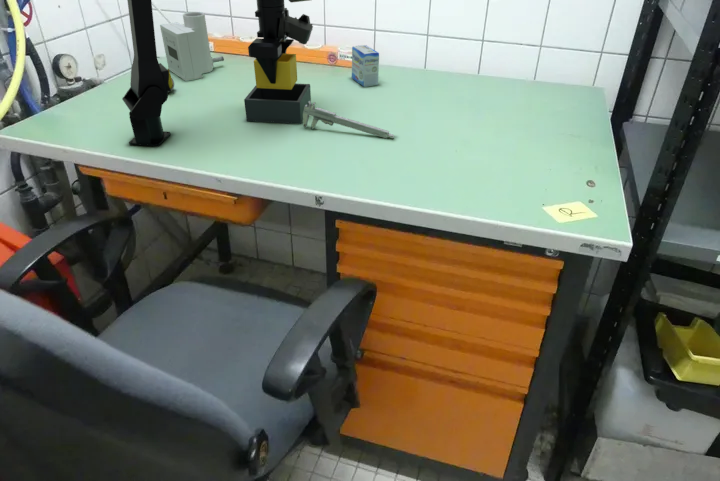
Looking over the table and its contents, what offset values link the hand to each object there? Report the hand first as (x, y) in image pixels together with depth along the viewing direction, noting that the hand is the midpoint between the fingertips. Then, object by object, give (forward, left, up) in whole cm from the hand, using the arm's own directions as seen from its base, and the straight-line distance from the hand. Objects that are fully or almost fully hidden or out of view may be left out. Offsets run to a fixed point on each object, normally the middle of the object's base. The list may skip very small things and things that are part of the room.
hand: (276, 78), depth 120 cm
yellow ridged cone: (+10, +31, -8) cm, 34 cm away
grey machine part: (+28, +29, -8) cm, 41 cm away
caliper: (-9, -18, -8) cm, 22 cm away
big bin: (0, 0, -8) cm, 8 cm away
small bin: (0, 0, -1) cm, 1 cm away
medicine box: (+25, -18, -8) cm, 31 cm away
